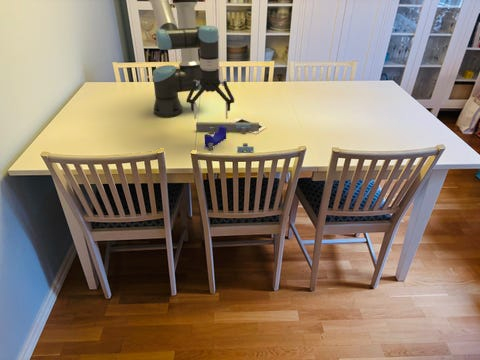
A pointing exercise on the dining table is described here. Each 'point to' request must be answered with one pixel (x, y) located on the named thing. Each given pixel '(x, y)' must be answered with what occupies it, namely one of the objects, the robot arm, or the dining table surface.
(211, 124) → the gray assembly fixture
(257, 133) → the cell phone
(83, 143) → the dining table surface
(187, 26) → the robot arm
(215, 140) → the blue angled bracket
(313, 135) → the dining table surface
